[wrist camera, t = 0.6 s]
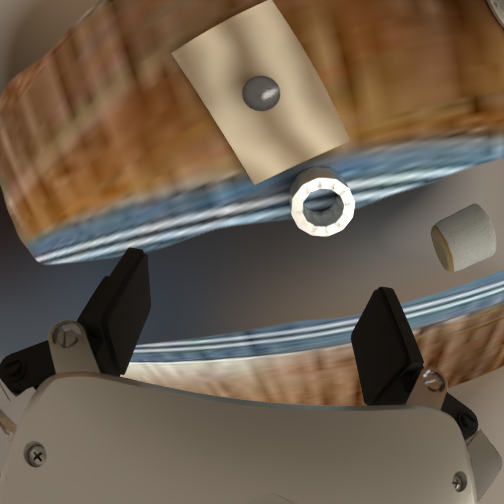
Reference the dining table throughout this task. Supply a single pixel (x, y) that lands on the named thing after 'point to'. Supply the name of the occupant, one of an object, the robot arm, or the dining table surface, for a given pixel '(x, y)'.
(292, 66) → the block
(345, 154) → the dining table surface
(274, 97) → the dark domed cylinder
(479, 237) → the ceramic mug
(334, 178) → the ring
